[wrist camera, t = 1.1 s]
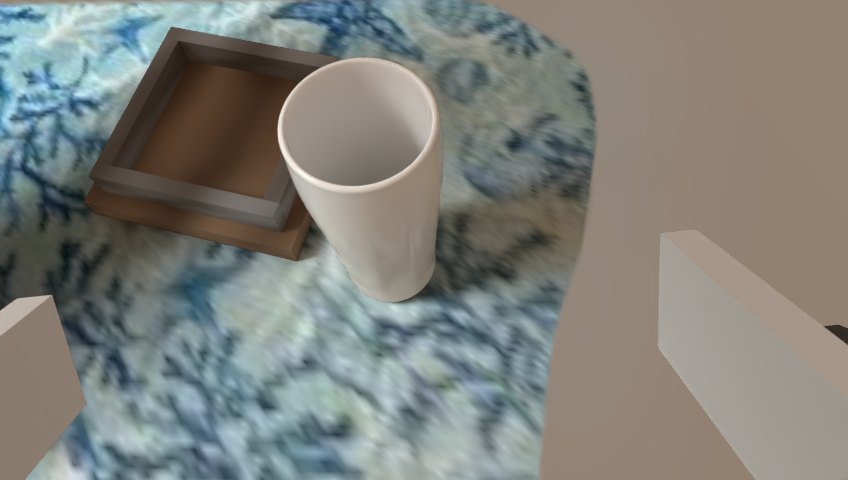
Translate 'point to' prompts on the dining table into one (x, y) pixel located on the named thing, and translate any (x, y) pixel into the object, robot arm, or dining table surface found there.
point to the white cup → (369, 170)
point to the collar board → (208, 145)
